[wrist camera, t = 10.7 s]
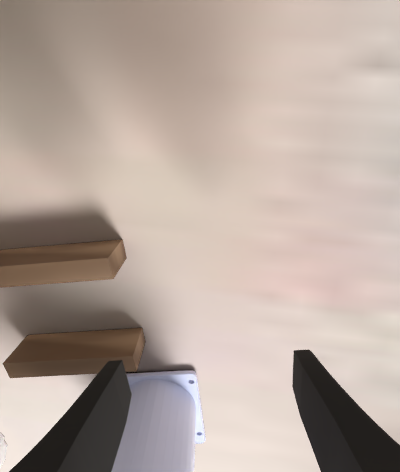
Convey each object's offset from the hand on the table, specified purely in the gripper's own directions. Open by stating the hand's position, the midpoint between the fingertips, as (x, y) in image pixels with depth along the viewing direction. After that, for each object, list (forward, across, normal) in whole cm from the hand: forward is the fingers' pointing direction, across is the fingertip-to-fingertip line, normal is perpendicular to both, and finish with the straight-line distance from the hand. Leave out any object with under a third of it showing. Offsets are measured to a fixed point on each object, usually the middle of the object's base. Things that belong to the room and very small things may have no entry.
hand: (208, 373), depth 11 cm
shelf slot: (+9, +11, +2) cm, 15 cm away
